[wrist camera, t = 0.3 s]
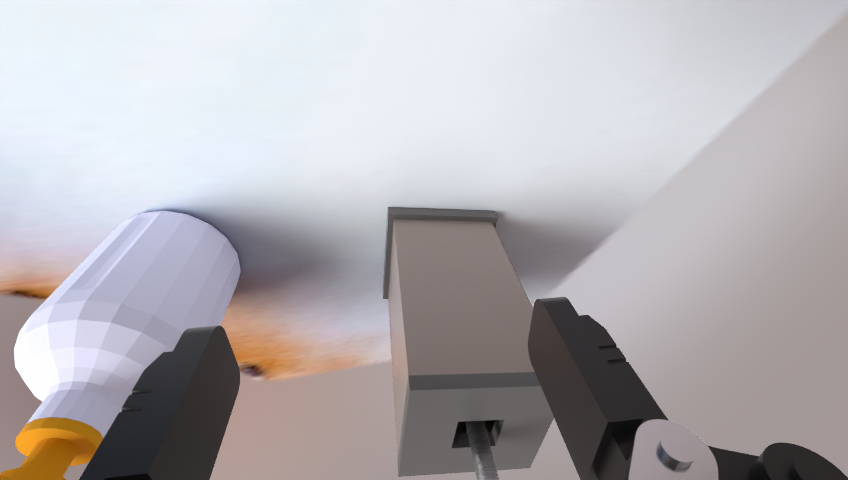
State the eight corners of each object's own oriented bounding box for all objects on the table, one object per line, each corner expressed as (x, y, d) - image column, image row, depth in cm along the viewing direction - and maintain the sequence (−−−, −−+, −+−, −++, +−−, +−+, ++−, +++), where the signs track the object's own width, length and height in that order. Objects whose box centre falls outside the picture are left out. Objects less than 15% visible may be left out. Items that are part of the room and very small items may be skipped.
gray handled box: (387, 207, 31) (401, 385, 18) (494, 210, 32) (579, 379, 19) (381, 312, 37) (388, 502, 24) (471, 312, 38) (524, 492, 25)
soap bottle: (265, 253, 32) (82, 756, 12) (203, 318, 35) (-27, 806, 15) (149, 184, 28) (-453, 782, 7) (91, 264, 31) (-451, 846, 10)
